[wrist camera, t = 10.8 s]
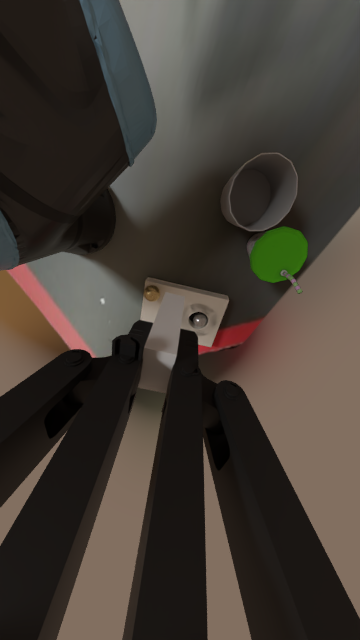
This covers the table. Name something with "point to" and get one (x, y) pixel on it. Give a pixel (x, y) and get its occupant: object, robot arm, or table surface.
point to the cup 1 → (260, 192)
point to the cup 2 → (277, 254)
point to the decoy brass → (152, 293)
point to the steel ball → (199, 320)
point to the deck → (189, 308)
